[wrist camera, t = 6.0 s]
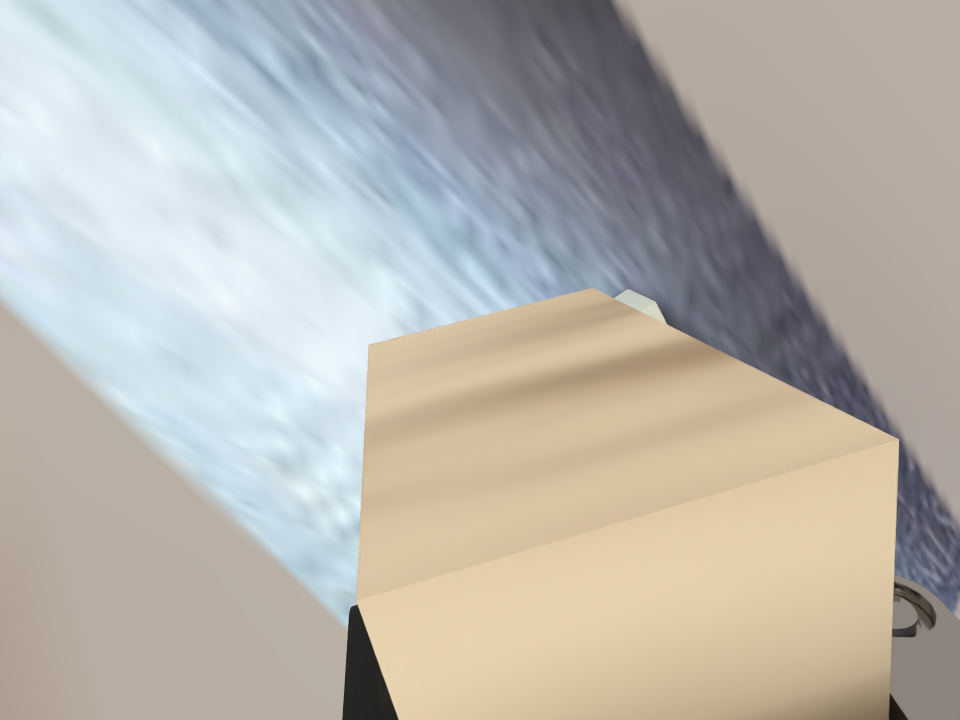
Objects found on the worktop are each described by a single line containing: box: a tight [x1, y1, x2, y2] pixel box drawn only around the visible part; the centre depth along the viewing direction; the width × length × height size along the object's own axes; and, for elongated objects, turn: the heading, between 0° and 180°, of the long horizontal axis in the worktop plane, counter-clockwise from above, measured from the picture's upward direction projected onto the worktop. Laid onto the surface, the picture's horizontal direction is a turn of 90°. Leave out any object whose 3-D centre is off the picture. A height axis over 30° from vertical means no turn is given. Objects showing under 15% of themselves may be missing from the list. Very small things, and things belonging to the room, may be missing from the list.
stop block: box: [356, 288, 899, 720], centre depth 9 cm, size 9×4×7 cm, turn 12°
